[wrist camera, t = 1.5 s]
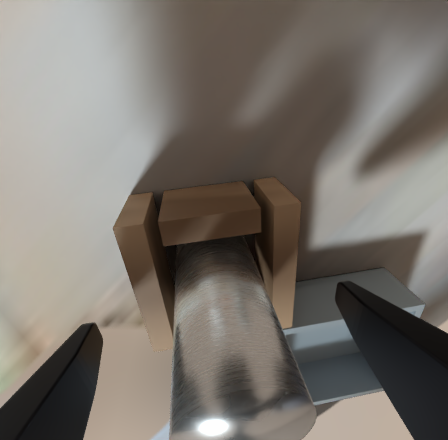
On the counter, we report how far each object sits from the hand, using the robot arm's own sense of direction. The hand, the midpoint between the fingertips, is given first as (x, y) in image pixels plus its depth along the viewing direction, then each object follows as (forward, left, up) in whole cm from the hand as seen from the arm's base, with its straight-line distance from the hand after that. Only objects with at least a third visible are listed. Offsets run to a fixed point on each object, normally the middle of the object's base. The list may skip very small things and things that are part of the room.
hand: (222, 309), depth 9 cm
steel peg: (0, 0, -4) cm, 4 cm away
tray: (-7, -7, -4) cm, 11 cm away
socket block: (0, 0, -4) cm, 4 cm away
